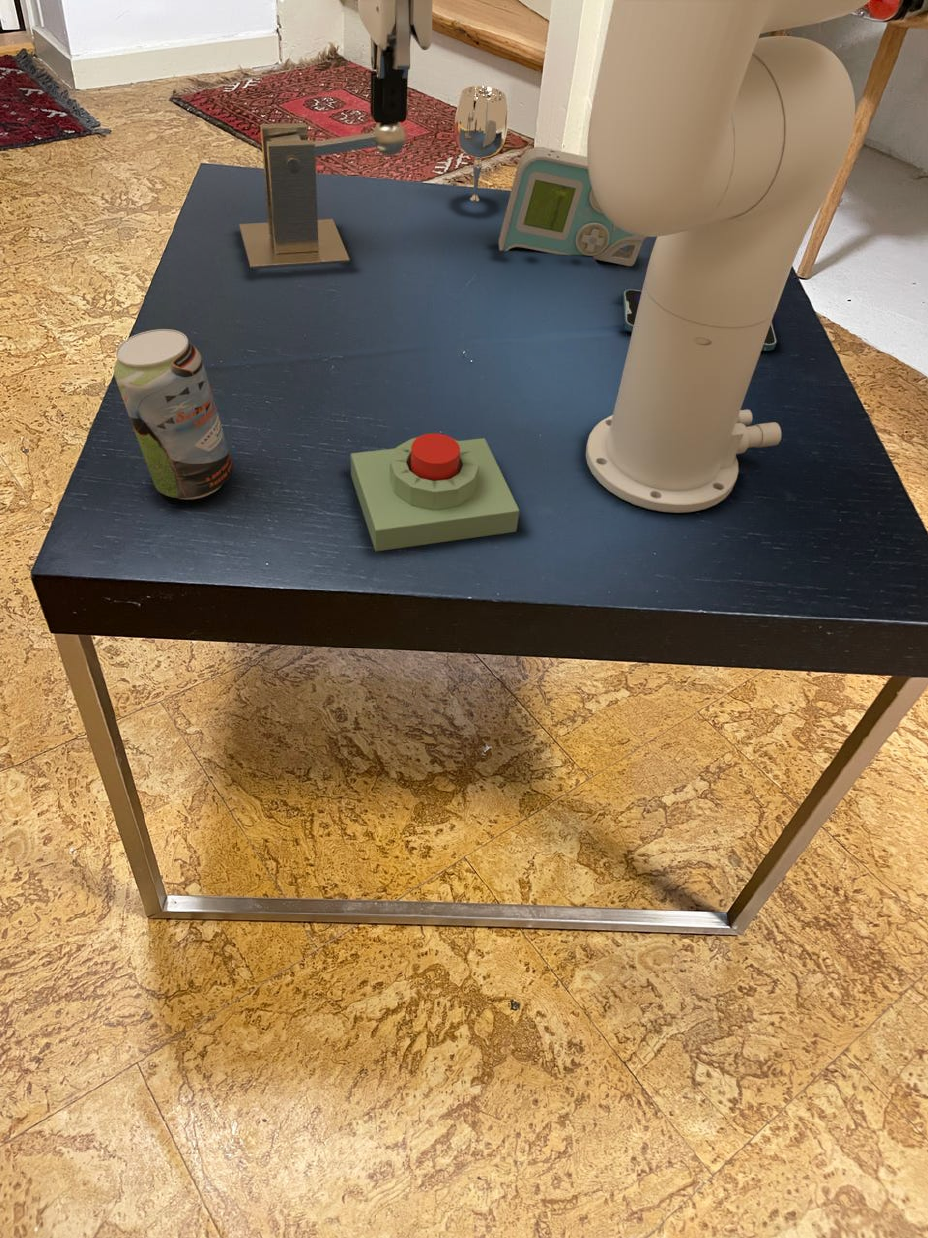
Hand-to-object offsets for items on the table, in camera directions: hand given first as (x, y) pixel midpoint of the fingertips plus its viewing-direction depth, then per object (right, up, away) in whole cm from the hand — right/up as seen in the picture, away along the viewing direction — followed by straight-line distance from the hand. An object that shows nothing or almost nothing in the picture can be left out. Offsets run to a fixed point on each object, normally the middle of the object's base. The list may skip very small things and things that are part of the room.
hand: (388, 118), depth 92 cm
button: (+5, -37, -21) cm, 43 cm away
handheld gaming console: (+19, -9, +11) cm, 24 cm away
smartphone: (+31, -19, +3) cm, 36 cm away
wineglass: (+8, -1, +17) cm, 19 cm away
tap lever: (-5, -3, +2) cm, 6 cm away
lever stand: (-10, -10, +7) cm, 16 cm away
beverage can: (-14, -38, -18) cm, 44 cm away
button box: (+5, -39, -18) cm, 44 cm away
